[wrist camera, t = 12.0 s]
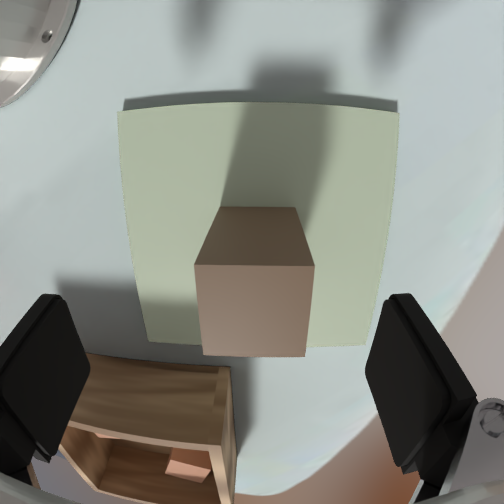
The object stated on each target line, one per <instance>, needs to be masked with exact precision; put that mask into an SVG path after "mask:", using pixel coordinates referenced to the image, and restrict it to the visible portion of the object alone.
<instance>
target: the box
mask: <svg viewBox="0 0 504 504" xmlns="http://www.w3.org/2000/svg"><path fill="white" fill-rule="evenodd" d="M86 356H87V358H88V360H89V363H90V367H91V368H90V374H89V377H88V379H87V381H86V383H85V385H84V388H83V390H82V392H81V394H80V397H79V399H78V401H77V404H76V406H75V408H74V411H73V413H72V415H71V418H70V420H69V423H68V425H67V428H66V430H65V433H64V435H63V438H62V440H61V443H60V445H59V448H58V449H59V450H60V451H61V453H62V454H63V455H64V456H65V458H66V459H67V460H68V461H69V462H70V463H71V465H72V466H73V467H74V468H75V469H76V471H77V472H78V473H79V474H80V475H81V476H82V477H83V479H84V480H85V481H86V482H87V483H88V484H89V485H90V486H91V487H92V489H93V490H94V491H98V492H101V493H104V494H108V495H111V496H115V497H119V498H123V499H127V500H132V501H136V502H140V503H145V504H234V493H235V479H236V466H237V451H236V439H235V426H234V413H233V400H232V385H231V370H230V367H225V366H204V365H188V364H175V363H163V362H153V361H143V360H134V359H126V358H118V357H110V356H103V355H96V354H90V353H86ZM95 433H98V434H102V435H106V436H111V437H116V438H120V439H114V438H100V437H98V436H97V435H96V434H95ZM171 447H174V448H182V449H192V450H202V451H209V455H210V459H211V464H212V466H211V471H210V472H209V473H208V475H207V476H206V478H205V479H204V481H203V482H202V483H199V482H195V481H191V480H187V479H183V478H179V477H175V476H171V475H168V474H165V471H166V467H167V462H168V458H169V454H170V449H171Z"/></svg>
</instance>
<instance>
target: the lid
mask: <svg viewBox="0 0 504 504" xmlns="http://www.w3.org/2000/svg"><path fill="white" fill-rule="evenodd" d="M117 115H118V137H119V152H120V166H121V177H122V187H123V197H124V206H125V214H126V222H127V229H128V236H129V243H130V250H131V256H132V262H133V268H134V274H135V279H136V285H137V290H138V295H139V300H140V305H141V310H142V315H143V320H144V324H145V329H146V333H147V337H148V341H149V342H161V343H174V344H189V345H202V348H203V355H212V356H237V357H305V352H306V347H331V346H354V345H365V344H366V340H367V336H368V332H369V328H370V324H371V320H372V316H373V311H374V307H375V302H376V298H377V293H378V288H379V283H380V278H381V273H382V267H383V262H384V256H385V250H386V244H387V238H388V231H389V225H390V217H391V210H392V202H393V193H394V184H395V174H396V163H397V150H398V134H399V113H395V112H389V111H381V110H374V109H366V108H357V107H347V106H336V105H323V104H307V103H284V102H225V103H201V104H186V105H173V106H162V107H152V108H143V109H135V110H127V111H120V112H117Z"/></svg>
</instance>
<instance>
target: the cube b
mask: <svg viewBox="0 0 504 504" xmlns="http://www.w3.org/2000/svg"><path fill="white" fill-rule="evenodd" d="M211 466H212V464H211V459H210V455H209V451H202V450H192V449H182V448H174V447H171V449H170V454H169V458H168V462H167V467H166V471H165V474H168V475H171V476H175V477H179V478H183V479H187V480H191V481H195V482H199V483H202V482H203V481H204V479H205V478H206V476H207V475H208V473H209V472H210V471H211Z"/></svg>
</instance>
